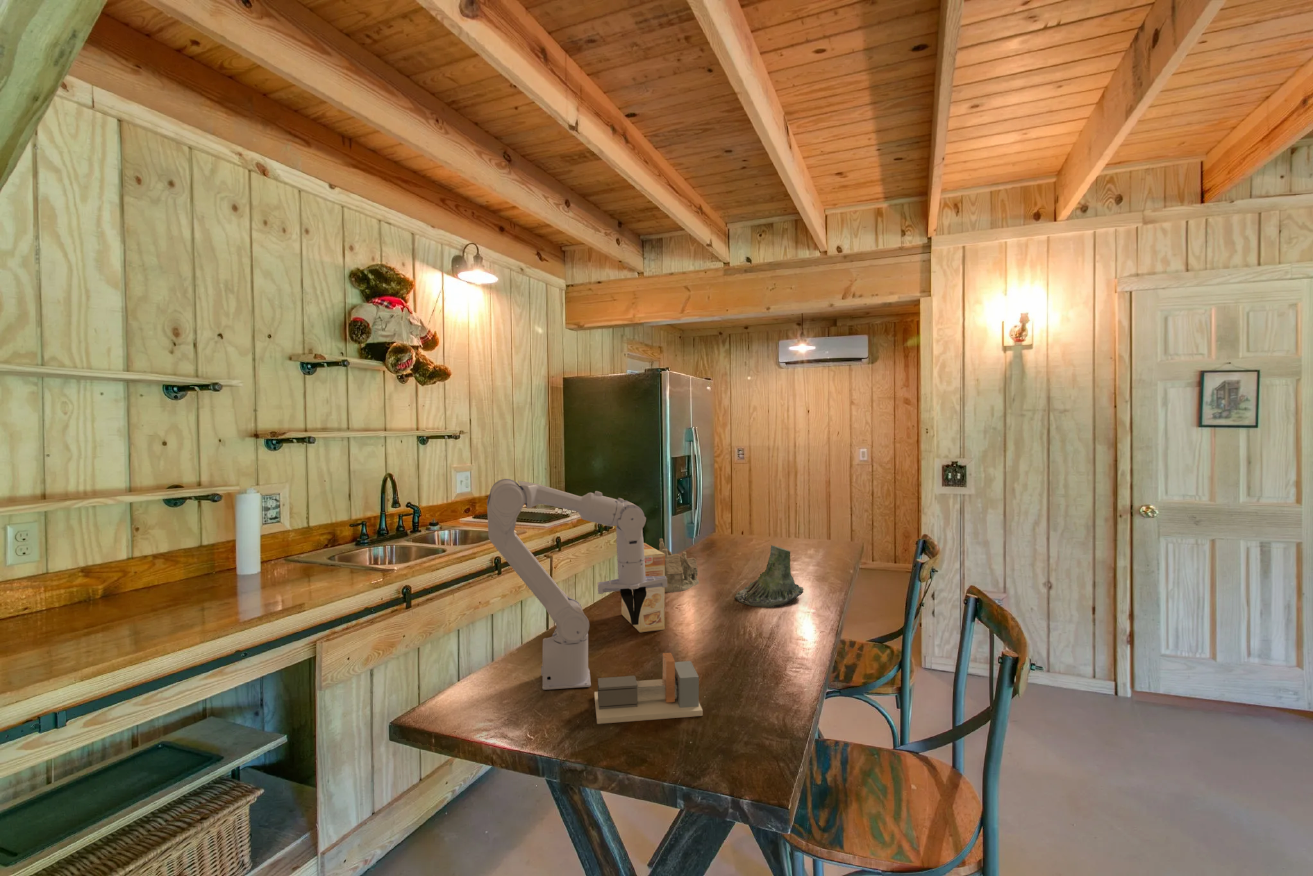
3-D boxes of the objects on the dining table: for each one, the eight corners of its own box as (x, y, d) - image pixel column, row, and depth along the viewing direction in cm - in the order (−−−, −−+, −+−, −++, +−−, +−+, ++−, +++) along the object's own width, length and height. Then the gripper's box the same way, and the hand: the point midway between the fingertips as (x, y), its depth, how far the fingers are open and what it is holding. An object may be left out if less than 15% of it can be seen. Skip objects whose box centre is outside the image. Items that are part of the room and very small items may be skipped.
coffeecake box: (665, 629, 148) (665, 553, 148) (639, 633, 146) (639, 555, 145) (644, 611, 162) (645, 541, 162) (620, 614, 160) (620, 543, 159)
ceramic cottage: (655, 592, 180) (658, 543, 180) (649, 579, 196) (652, 535, 196) (704, 594, 181) (707, 545, 182) (695, 581, 198) (698, 537, 198)
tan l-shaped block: (629, 705, 106) (629, 664, 106) (627, 694, 110) (627, 655, 110) (691, 700, 108) (691, 660, 108) (686, 690, 112) (686, 651, 112)
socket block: (679, 707, 106) (680, 678, 106) (672, 690, 113) (673, 662, 113) (698, 706, 107) (698, 676, 106) (690, 688, 114) (690, 661, 113)
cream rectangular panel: (597, 723, 102) (597, 695, 102) (594, 697, 112) (594, 671, 112) (702, 715, 105) (702, 688, 105) (691, 690, 115) (691, 665, 115)
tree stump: (724, 592, 182) (736, 536, 183) (781, 603, 186) (793, 548, 188) (747, 608, 164) (761, 545, 165) (810, 620, 168) (822, 558, 170)
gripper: (597, 567, 117) (601, 634, 118) (668, 561, 119) (671, 626, 120) (595, 559, 124) (599, 621, 125) (662, 553, 126) (666, 614, 127)
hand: (634, 623), depth 123 cm, fingers closed
